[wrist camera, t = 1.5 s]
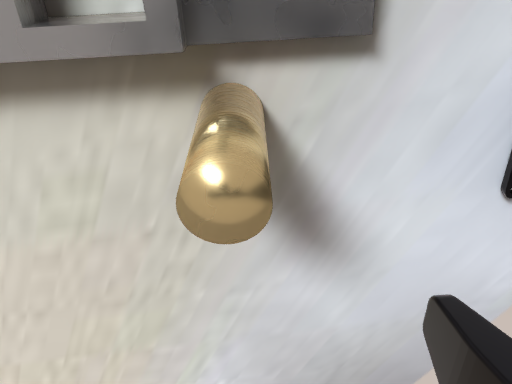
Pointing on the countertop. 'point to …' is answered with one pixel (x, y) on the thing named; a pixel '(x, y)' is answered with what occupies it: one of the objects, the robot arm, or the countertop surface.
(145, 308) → the countertop surface
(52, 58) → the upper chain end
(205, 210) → the brass pin
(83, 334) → the countertop surface
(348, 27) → the lower chain end
